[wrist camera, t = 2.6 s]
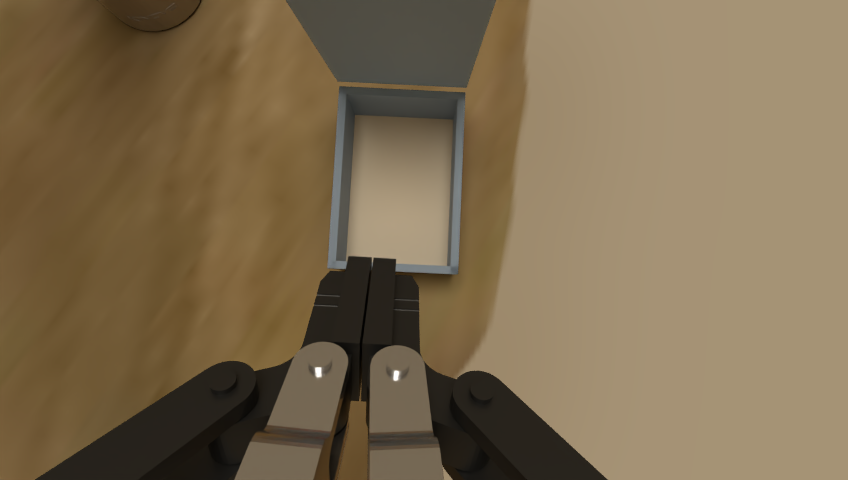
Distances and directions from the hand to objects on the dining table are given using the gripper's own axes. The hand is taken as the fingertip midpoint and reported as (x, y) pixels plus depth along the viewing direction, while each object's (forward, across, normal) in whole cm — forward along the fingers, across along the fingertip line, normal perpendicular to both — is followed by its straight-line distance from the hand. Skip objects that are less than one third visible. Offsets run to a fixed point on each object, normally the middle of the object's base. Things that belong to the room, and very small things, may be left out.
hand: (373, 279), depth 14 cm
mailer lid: (+18, 0, +4) cm, 18 cm away
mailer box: (+23, +1, -9) cm, 25 cm away
